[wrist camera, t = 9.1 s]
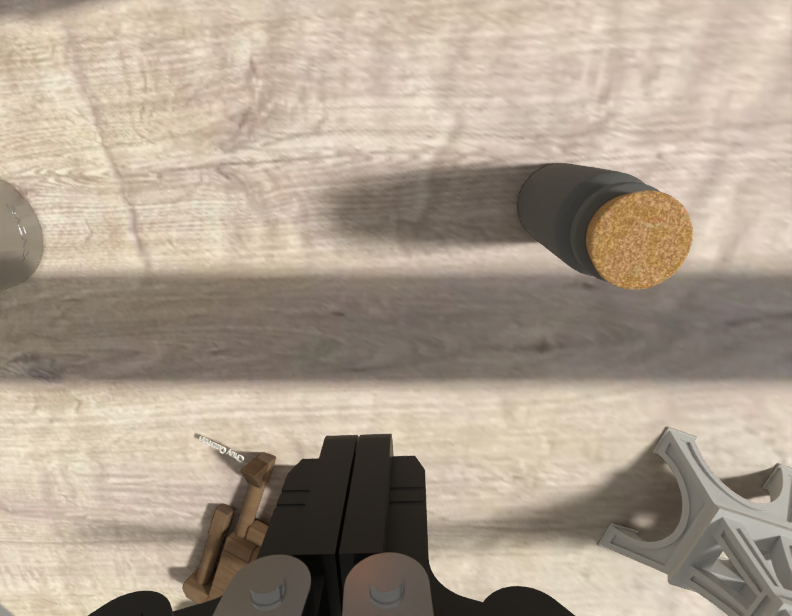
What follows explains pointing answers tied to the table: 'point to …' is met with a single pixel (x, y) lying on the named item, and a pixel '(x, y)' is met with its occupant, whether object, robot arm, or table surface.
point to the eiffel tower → (720, 537)
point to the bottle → (606, 224)
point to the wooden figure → (240, 542)
